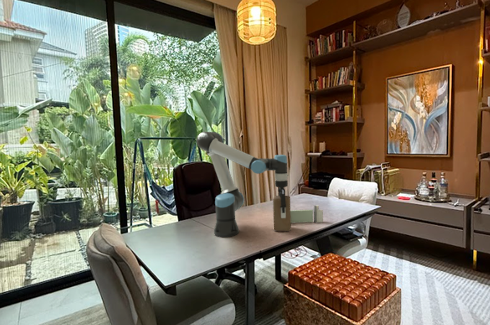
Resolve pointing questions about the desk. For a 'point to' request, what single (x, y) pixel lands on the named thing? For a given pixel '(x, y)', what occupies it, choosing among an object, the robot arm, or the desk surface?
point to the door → (301, 216)
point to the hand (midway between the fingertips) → (282, 215)
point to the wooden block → (279, 222)
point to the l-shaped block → (318, 214)
